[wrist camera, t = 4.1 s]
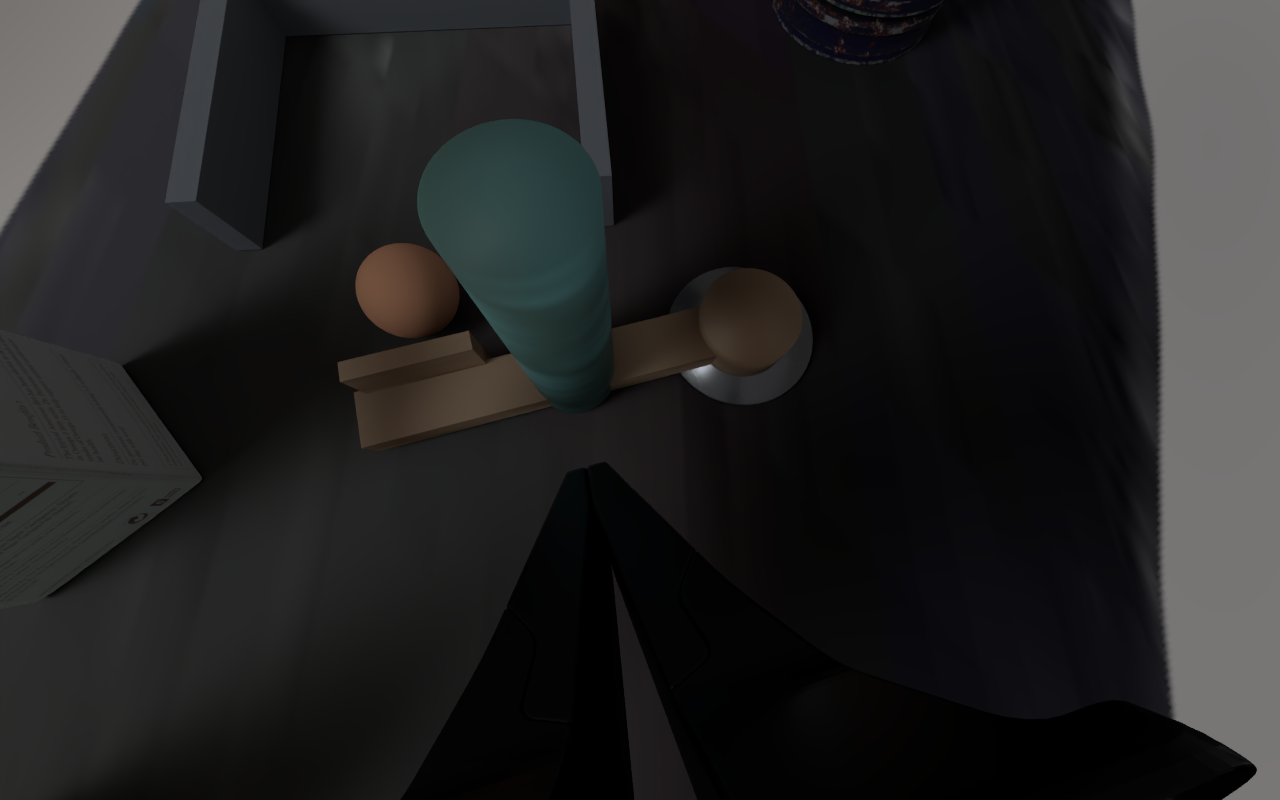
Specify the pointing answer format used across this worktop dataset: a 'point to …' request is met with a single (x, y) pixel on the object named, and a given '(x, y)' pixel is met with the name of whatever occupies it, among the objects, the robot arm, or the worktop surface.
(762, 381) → the pivot base
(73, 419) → the supplement box
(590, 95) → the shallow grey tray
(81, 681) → the worktop surface
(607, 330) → the lever
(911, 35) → the storage jar
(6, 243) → the worktop surface
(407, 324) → the ball
